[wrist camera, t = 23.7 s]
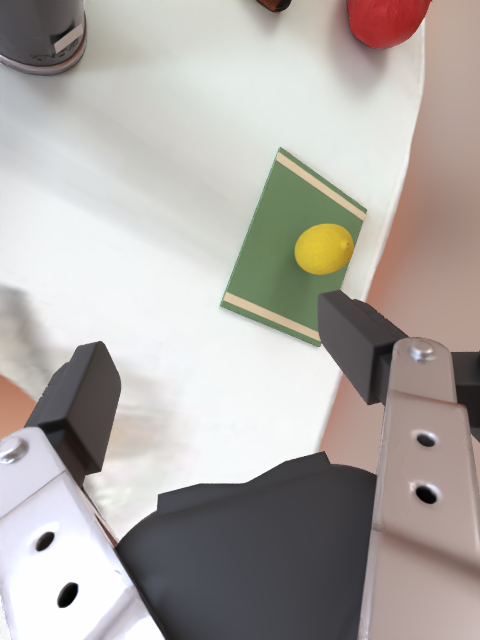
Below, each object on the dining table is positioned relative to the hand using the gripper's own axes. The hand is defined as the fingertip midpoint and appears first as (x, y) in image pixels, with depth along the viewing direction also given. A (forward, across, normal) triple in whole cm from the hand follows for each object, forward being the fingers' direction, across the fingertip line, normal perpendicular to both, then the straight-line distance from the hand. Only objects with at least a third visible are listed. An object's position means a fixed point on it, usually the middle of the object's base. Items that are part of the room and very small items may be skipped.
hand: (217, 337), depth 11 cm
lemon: (+25, -12, +7) cm, 29 cm away
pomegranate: (+40, -28, -17) cm, 52 cm away
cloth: (+25, -12, +7) cm, 29 cm away
